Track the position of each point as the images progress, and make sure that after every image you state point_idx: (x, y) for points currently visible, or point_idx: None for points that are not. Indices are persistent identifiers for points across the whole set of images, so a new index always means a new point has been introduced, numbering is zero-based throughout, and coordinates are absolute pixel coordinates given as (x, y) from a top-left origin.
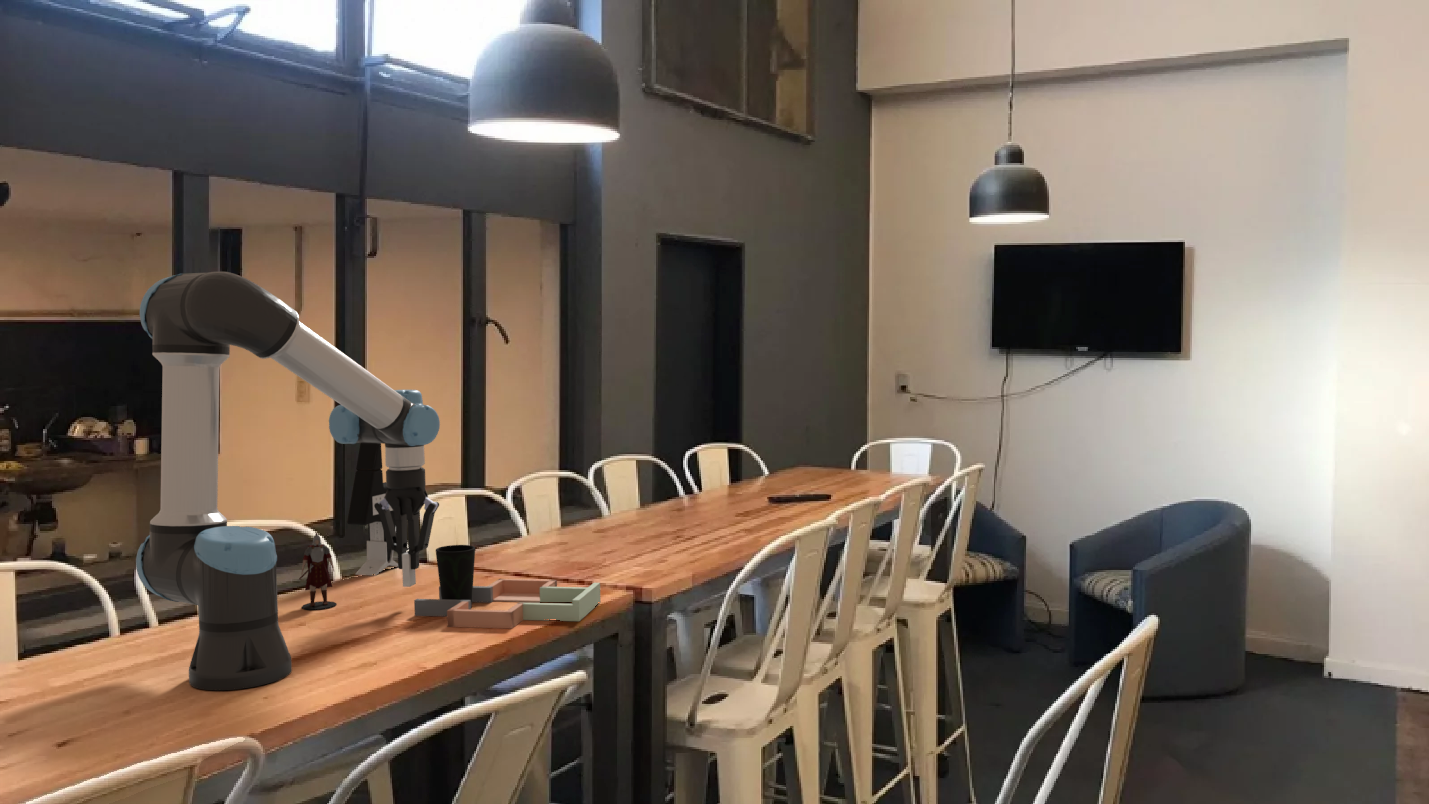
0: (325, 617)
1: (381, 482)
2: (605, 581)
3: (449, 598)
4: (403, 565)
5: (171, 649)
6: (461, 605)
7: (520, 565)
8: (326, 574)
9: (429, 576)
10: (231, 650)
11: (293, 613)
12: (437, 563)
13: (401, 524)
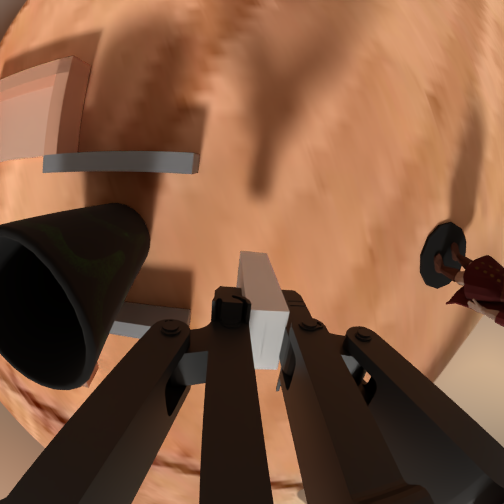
0: (416, 155)
1: None
2: (16, 397)
3: (104, 206)
4: (272, 284)
5: (496, 28)
6: (49, 110)
7: (171, 482)
8: (478, 282)
9: (285, 453)
10: None
11: (469, 200)
12: (93, 257)
13: (339, 465)
